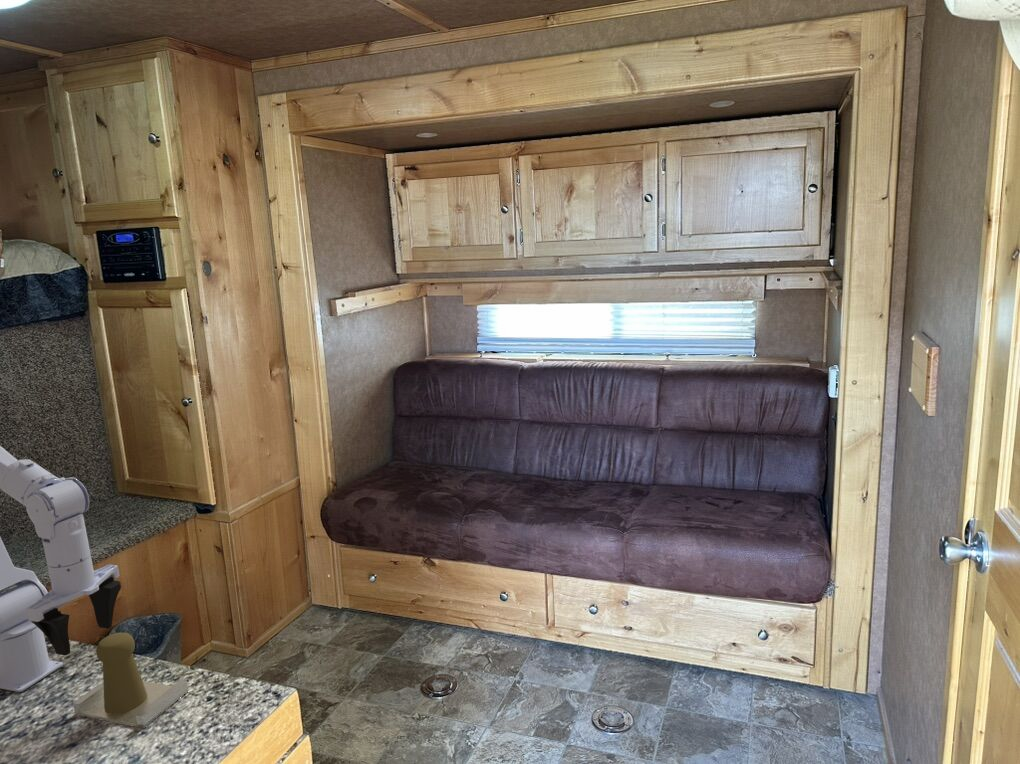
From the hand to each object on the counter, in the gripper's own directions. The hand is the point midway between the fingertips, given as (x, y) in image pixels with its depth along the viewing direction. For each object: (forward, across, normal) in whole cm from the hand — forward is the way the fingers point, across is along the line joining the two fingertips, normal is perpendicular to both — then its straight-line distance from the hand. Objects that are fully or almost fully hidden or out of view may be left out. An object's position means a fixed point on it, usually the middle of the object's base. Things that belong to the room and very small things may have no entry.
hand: (85, 639), depth 113 cm
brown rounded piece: (+10, 0, -6) cm, 12 cm away
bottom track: (+10, 0, -7) cm, 12 cm away
